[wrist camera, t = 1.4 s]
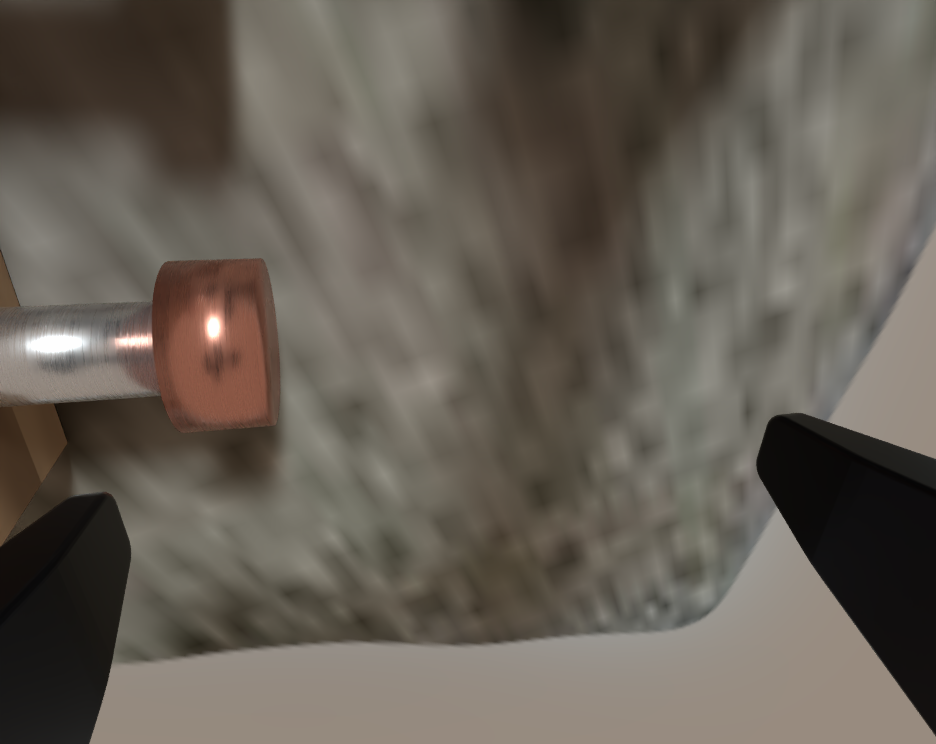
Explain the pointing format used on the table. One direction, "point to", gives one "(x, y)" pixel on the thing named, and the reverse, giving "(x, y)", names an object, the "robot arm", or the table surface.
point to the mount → (24, 442)
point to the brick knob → (156, 348)
